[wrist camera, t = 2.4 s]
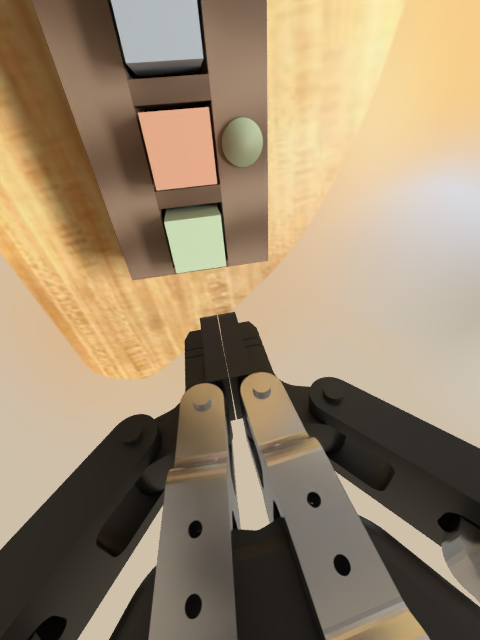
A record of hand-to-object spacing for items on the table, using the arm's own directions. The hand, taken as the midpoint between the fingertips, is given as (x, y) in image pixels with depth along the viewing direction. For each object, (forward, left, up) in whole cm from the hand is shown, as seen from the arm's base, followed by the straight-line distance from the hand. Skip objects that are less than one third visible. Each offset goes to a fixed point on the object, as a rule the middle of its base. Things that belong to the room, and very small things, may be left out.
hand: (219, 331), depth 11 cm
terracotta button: (-6, 0, -15) cm, 16 cm away
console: (-6, 0, -18) cm, 19 cm away
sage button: (0, 0, -15) cm, 15 cm away
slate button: (-12, 0, -15) cm, 19 cm away
